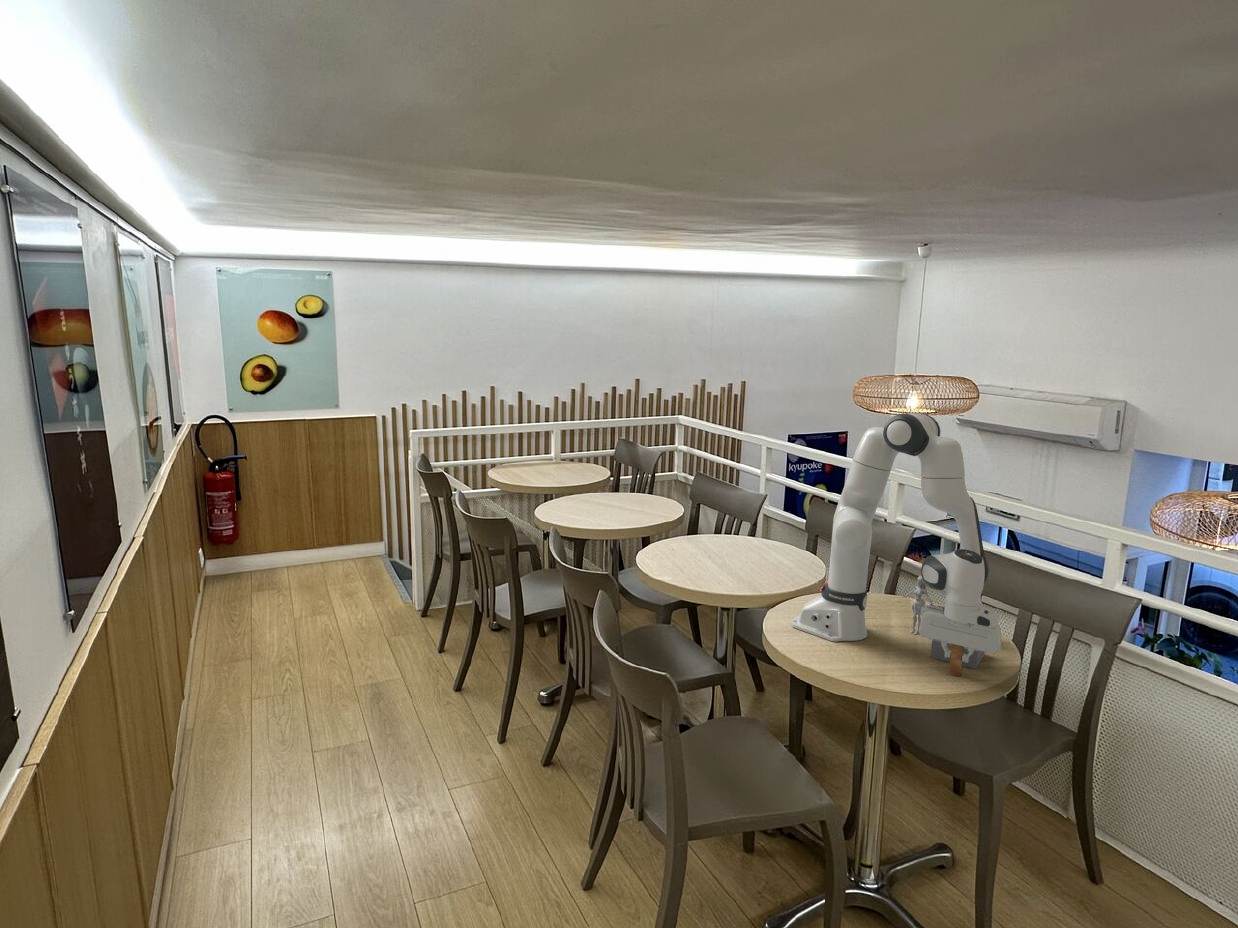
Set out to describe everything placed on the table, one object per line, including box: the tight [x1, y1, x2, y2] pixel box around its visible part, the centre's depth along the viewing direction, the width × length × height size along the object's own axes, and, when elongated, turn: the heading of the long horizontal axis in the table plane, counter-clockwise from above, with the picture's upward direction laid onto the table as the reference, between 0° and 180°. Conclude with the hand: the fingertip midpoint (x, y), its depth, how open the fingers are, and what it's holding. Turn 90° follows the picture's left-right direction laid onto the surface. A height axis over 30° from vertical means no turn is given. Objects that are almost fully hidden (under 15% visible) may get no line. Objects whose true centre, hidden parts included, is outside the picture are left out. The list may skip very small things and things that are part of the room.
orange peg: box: [948, 644, 964, 677], centre depth 205 cm, size 3×3×9 cm
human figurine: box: [902, 575, 934, 635], centre depth 232 cm, size 12×4×18 cm, turn 29°
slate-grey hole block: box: [929, 639, 985, 670], centre depth 217 cm, size 12×12×5 cm
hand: (956, 659), depth 205 cm, fingers closed on orange peg, 3 cm apart
